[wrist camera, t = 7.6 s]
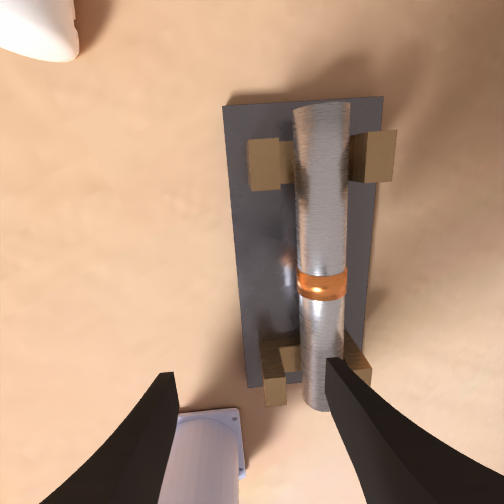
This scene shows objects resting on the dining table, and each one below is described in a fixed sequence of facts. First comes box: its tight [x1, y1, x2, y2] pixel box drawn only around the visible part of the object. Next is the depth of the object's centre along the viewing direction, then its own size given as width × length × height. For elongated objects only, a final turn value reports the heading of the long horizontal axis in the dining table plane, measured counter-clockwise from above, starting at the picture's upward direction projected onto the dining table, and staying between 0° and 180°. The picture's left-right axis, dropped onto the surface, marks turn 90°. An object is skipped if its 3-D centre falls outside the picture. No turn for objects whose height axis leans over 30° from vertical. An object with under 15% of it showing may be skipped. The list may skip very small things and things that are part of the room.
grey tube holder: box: [222, 96, 397, 407], centre depth 18 cm, size 22×10×5 cm, turn 4°
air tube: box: [292, 102, 350, 412], centre depth 17 cm, size 20×3×3 cm, turn 5°
